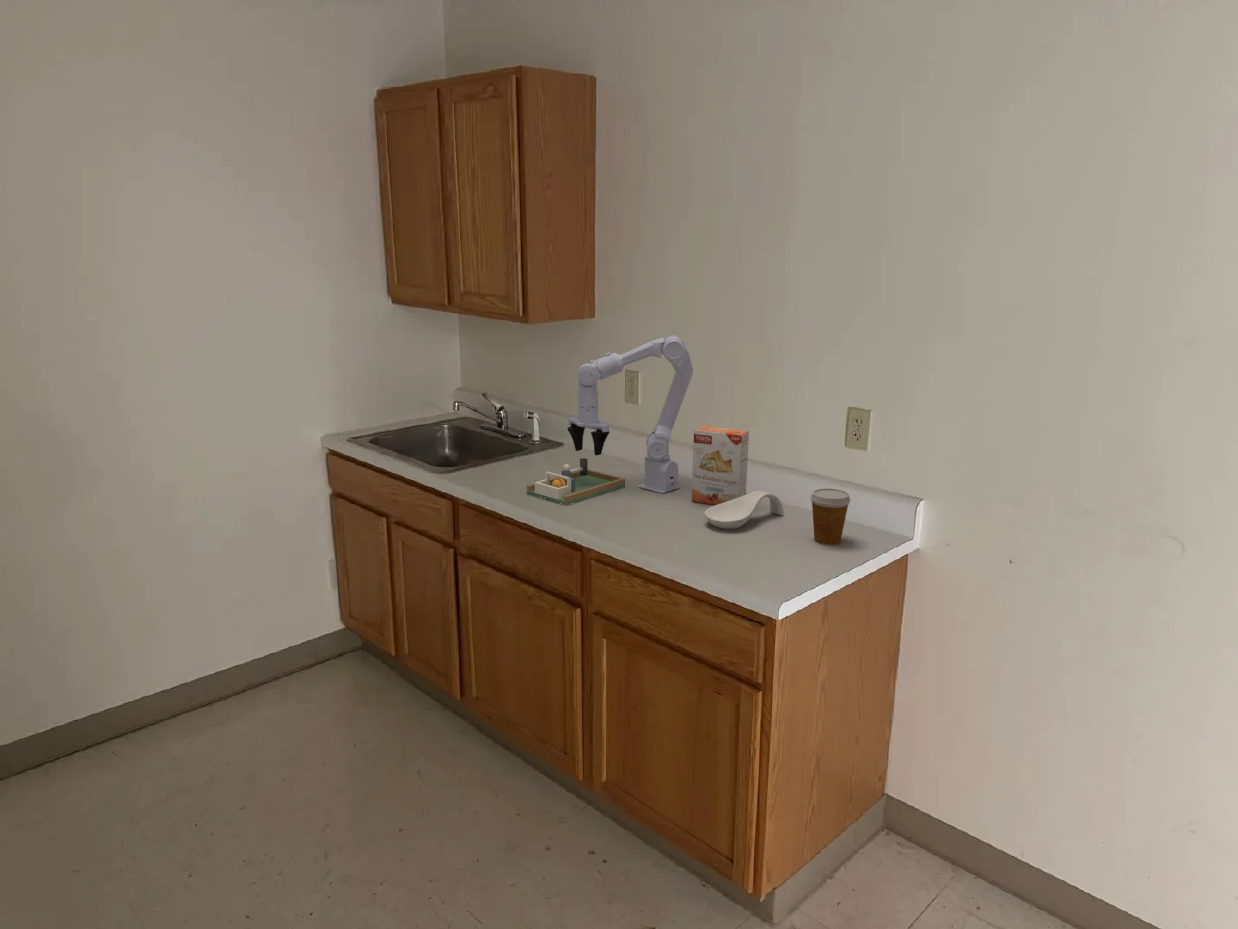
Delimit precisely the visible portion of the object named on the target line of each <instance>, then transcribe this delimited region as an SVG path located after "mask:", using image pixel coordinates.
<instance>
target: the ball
mask: <svg viewBox="0 0 1238 929" xmlns="http://www.w3.org/2000/svg"><path fill="white" fill-rule="evenodd" d="M552 486H553V487H556V488H560V487H563V486H566V483H565V481H564V480H563V479H560V478H558V479H555V480H554V481H553V483H552Z"/></svg>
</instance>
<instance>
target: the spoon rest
mask: <svg viewBox="0 0 1238 929" xmlns="http://www.w3.org/2000/svg"><path fill="white" fill-rule="evenodd" d="M763 498H767V499H769V504H770V505H769V512H771V513H773V514H776V515H778V516H783V515H784V507H783V506H784V505H783V504H782V501H781V500H780V498H779V497H778V496H777V495H775V494H773V493H769V492H768V491H764V490H756V491H752V492H749V493H746V495H744V496H741V497H739V498H736V499H733V500H731V501H728V502H724V503H721V504H718V505H712V506H710V507H708V508H707V509H706V510H704V517H705V518H706V521H708V522H709V523H710V524H711V525H713V526H714V527H716V528H719V529H723V530H736V529H740V528H741V527H742V526H743V525H745V524H746V523H747V522H748V521H749V520H750V518H751V517H752V515H753V514H754V512H755V510H756V508H757V506H758V504H759V503H760V502H761V500H762V499H763Z"/></svg>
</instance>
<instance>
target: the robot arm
mask: <svg viewBox="0 0 1238 929" xmlns="http://www.w3.org/2000/svg"><path fill="white" fill-rule="evenodd" d="M689 353H690V352H689V350H688V347H687V345H686V344H685V342H684V340H683V339H682V338H681V337H680V336H678V335H676V334H669V335H667V336H666V337H659V338H657V339H655V340H651V341H649V342H647V343H645V344H643V345H640V346H638V347H635V348H634V349H631V350H629V351H627V352H625V353H622V354H619V353H617V352H613V353H611V352H607V353H605V356H603V357H601V358H597V359H596V360H594V359H591V360H589V361H590V362H589V363H588V362H587V363H584V364H582V365H580V367H579V368H578V371H577V374H576V377H577V378H576V379H577V380H578V384H577V388H578V390H577V417H574V416H573V417H568V418H567V425H568V427H567V431H568V433H569V435H570V437H571V439H572V442H573V444H574V445H573V446H574V448H575V452H580V451H583V447H584V446H583V445H584V433H585V429H586V428H587V429H590V430H594V431H591V432H590V435H591V437H592V442H593V452H594V456H600V455H602V452H603V448H604V446H605V442H606V440H607V438H608V436H609V434H610V424H608V423H605V422H602V421H600V420H599V390H598V380H600V381H602V380H605V379H608V378H610V377H612V376H614V375H617V374H620V373H622V372H623V370H624V369H625V367H626V366H627V365H630V364H633V363H635V362H638V361H641V360H643V359H647V358H649V357H654V358H658V359H659V358H660V359H662V355H663V357H664V358H665V359H666V360H667V361H668V363H670V364H671V366H672V368H673V369H674V371H675V373H674V375H673V379H672V381H671V384H670V387H669V390H668V393H667V394H666V398H665V400H664V403H663V405H662V409H661V412H660V414H659V417H658V419H657V422H656V424H655V426H654V427H653V430H652V432H651V433H650V434H649V435H648V436H647V438H646V454H645V455H644V482H643V483H642V484H638V488H640V489H644V490H649V491H652V492H656V493H660V494H664V493H668V492H671V491H674V490H677V489H680V486H679V465H678V463H677V462H676V461H673V460H672V459H671V455H670V454H669V451H670V447H669V444H670V440H671V436H672V431H673V429H674V426H675V422H676V420H677V417H678V414H679V412H680V409H681V406H682V404H683V403H684V399H685V396H686V393H687V391H688V388H689V384H690V383H691V379H692V376H693V374H694V368H693V365H692V360H691V357H690V354H689Z"/></svg>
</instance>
